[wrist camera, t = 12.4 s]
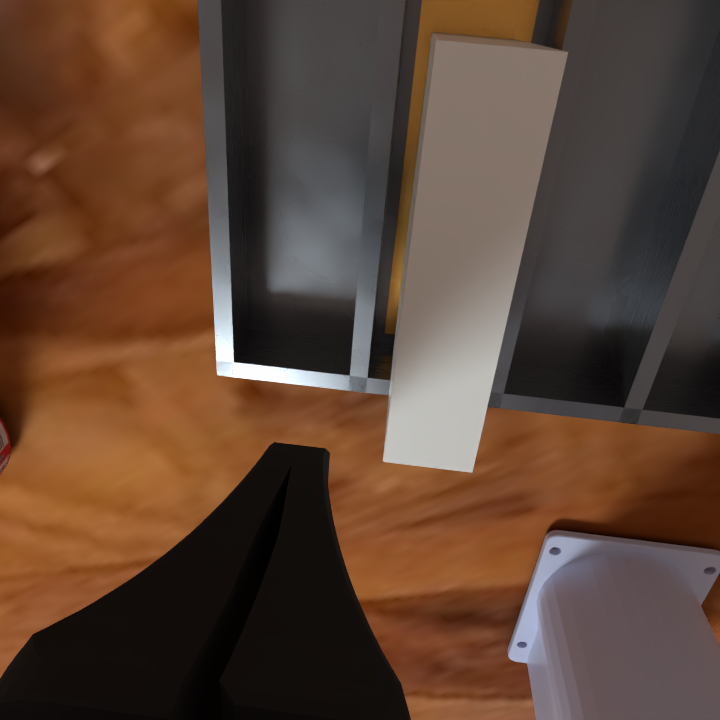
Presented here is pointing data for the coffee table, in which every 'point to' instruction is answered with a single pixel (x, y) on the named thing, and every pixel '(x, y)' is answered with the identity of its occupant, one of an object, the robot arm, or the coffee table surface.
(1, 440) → the soda can
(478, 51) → the panel
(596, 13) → the rack
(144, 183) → the coffee table surface
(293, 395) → the coffee table surface
